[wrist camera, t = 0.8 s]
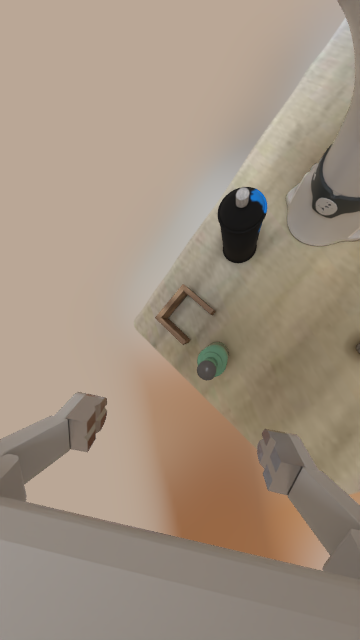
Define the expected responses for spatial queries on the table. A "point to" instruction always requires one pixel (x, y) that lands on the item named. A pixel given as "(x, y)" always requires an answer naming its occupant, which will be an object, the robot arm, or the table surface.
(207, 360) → the bottle
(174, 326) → the u rest
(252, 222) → the aerosol can
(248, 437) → the table surface
